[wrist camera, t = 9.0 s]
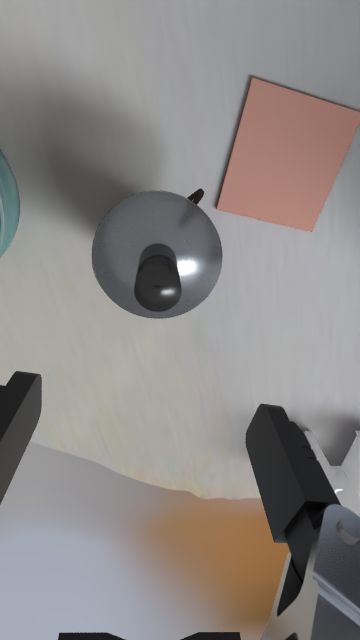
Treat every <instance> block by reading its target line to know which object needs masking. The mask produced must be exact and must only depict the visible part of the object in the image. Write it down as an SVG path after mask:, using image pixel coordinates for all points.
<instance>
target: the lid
mask: <svg viewBox="0 0 360 640" xmlns="http://www.w3.org/2000/svg"><path fill="white" fill-rule="evenodd" d="M92 262H93V268H94V272H95V275H96V277H97V280H98V282H99V284H100V286H101V287H102V289H103V290H104V292H105V293H106V294H107V295H108V296H109V298H110V299H111V300H112V301H114V302H115V303H116V304H117V305H118V306H120V307H121V308H123V309H125V310H126V311H128V312H130V313H133V314H136V315H138V316H142V317H146V318H170V317H174V316H178V315H181V314H184V313H186V312H188V311H190V310H192V309H193V308H195V307H196V306H198V305H199V304H200V303H201V302H202V301H204V299H205V298H206V297H207V296H208V295H209V294H210V292H211V291H212V290H213V288H214V286H215V284H216V282H217V280H218V277H219V275H220V271H221V267H222V247H221V241H220V238H219V235H218V233H217V230H216V228H215V226H214V225H213V223H212V221H211V220H210V218H209V217H208V216H207V215H206V214H205V212H204V211H203V210H202V209H201V208H200V207H199V206H197V205H196V204H195V203H193V202H192V201H190V200H189V199H187V198H185V197H183V196H181V195H178V194H175V193H172V192H166V191H145V192H141V193H137V194H134V195H132V196H129V197H127V198H125V199H124V200H122V201H120V202H119V203H118V204H117V205H115V206H114V207H113V208H112V209H111V210H110V211H109V212H108V213H107V215H106V216H105V217H104V218H103V220H102V221H101V223H100V225H99V227H98V229H97V231H96V234H95V237H94V240H93V246H92Z"/></svg>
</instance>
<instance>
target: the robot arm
mask: <svg viewBox="0 0 360 640" xmlns="http://www.w3.org/2000/svg"><path fill="white" fill-rule="evenodd" d="M41 405H42V379H41V375H40V374H35V373H28V372H20V371H16V372H15V373H14V374H13V376H12V377H11V378H10V380H9V381H8V383H7V384H6V386H2V385H0V504H1V502H2V500H3V498H4V495H5V493H6V491H7V489H8V487H9V485H10V482H11V480H12V478H13V475H14V474H15V471H16V469H17V467H18V465H19V463H20V460H21V458H22V456H23V454H24V452H25V450H26V447H27V445H28V443H29V441H30V439H31V437H32V434H33V432H34V430H35V428H36V426H37V423H38V420H39V417H40V413H41ZM246 447H247V451H248V454H249V458H250V461H251V465H252V468H253V471H254V475H255V478H256V482H257V485H258V489H259V492H260V495H261V499H262V502H263V506H264V509H265V512H266V516H267V519H268V523H269V526H270V529H271V533H272V536H273V540H274V542H276V543H288V546H289V549H290V553H289V554H288V555H287V558H286V562H285V565H284V569H283V573H282V576H281V580H280V583H279V587H278V591H277V594H276V598H275V602H274V605H273V609H272V613H271V617H270V619H269V621H268V624H267V626H266V628H265V630H264V632H263V634H262V636H261V638H260V640H360V517H359V516H358V515H356V514H355V513H354V512H353V511H351V510H350V509H348V508H346V507H344V506H342V505H341V503H340V502H339V500H338V498H337V496H336V494H335V492H334V490H333V488H332V486H331V484H330V482H329V480H328V478H327V476H326V474H325V472H324V471H323V469H322V467H321V465H320V463H319V461H318V460H317V457H316V455H315V453H314V451H313V449H311V445H310V443H309V441H308V439H307V438H306V436H305V434H304V433H303V431H302V430H301V429H300V428H299V427H298V426H297V425H296V424H295V423H294V422H291V421H289V419H288V417H287V415H286V412H285V410H284V409H283V407H281V406H276V405H268V404H261V405H259V407H258V409H257V411H256V413H255V415H254V417H253V419H252V421H251V423H250V425H249V427H248V429H247V432H246ZM58 640H125V639H122V638H120V637H117V636H114V635H112V634H109V633H59V638H58ZM181 640H241V639H240V633H239V632H198V633H196V634H193V635H191V636H188V637H186V638H184V639H181Z"/></svg>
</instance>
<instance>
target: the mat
mask: <svg viewBox="0 0 360 640" xmlns="http://www.w3.org/2000/svg"><path fill="white" fill-rule="evenodd" d="M359 124H360V112H358V111H355V110H352V109H349V108H346V107H342V106H339V105H336V104H333V103H330V102H327V101H324V100H321V99H318V98H314V97H311V96H308V95H305V94H302V93H299V92H296V91H293V90H289V89H286V88H283V87H280V86H277V85H274V84H271V83H268V82H264V81H261V80H258V79H255V78H252V79H251V83H250V86H249V90H248V94H247V97H246V101H245V105H244V108H243V112H242V116H241V119H240V123H239V127H238V130H237V134H236V138H235V141H234V145H233V149H232V152H231V156H230V160H229V163H228V167H227V171H226V175H225V178H224V182H223V186H222V189H221V193H220V197H219V200H218V204H217V208H216V209H217V210H221V211H225V212H230V213H234V214H238V215H242V216H247V217H251V218H255V219H259V220H263V221H268V222H272V223H276V224H280V225H284V226H289V227H293V228H297V229H301V230H306V231H310V232H312V231H313V229H314V226H315V224H316V222H317V219H318V217H319V215H320V213H321V210H322V208H323V206H324V203H325V201H326V199H327V197H328V194H329V192H330V190H331V187H332V185H333V183H334V181H335V178H336V176H337V174H338V171H339V169H340V167H341V165H342V162H343V160H344V158H345V156H346V153H347V151H348V149H349V146H350V144H351V142H352V140H353V137H354V135H355V133H356V130H357V128H358V126H359Z"/></svg>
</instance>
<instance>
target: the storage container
mask: <svg viewBox="0 0 360 640" xmlns="http://www.w3.org/2000/svg"><path fill="white" fill-rule="evenodd" d="M355 432H356V434H357V436H356V438H355V440H354V442H353V444H352V446H351V448H350V449H349V451H348V453H347V455H346V457H345V459H344V461H343V463H342V464H341V466H330V465H329V463H328V461H327V459H326V457H325V455H324V454H323V452H322V450H321V448H320V446H319V444H318V443H317V441H316V439H315V437H314V435H313V433H312V432H311V431H305V432H304V434H305V436H306V438H307V439H308V441H309V443H310V445H311V449H313V451H314V453H315V455H316V457H317V460H318V461H319V463H320V465H321V467H322V469H323V471H324V472H325V474H326V476H327V478H328V480H329V482H330V484H331V486H332V488H333V490H334V492H335V494H336V496H337V498H338V500H339V502H340V503H341V505H342V506H344V507H346V508H348V509H350V510H351V511H353V512H354V513H355V514H356V515H358V516H359V517H360V430H356V431H355Z"/></svg>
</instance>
